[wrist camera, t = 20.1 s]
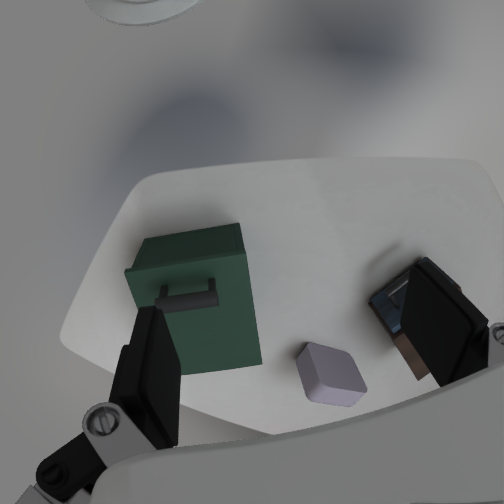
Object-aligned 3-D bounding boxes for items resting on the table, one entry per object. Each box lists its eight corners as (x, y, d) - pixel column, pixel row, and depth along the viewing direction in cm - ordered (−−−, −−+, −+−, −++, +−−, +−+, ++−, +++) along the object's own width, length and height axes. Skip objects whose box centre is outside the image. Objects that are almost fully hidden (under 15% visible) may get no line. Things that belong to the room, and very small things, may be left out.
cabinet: (367, 302, 49) (393, 340, 41) (427, 256, 47) (460, 286, 38) (396, 346, 55) (418, 381, 47) (446, 307, 53) (473, 337, 44)
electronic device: (291, 359, 53) (304, 404, 44) (305, 340, 51) (321, 385, 42) (335, 370, 56) (352, 411, 47) (350, 353, 54) (369, 393, 45)
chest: (144, 238, 40) (129, 271, 33) (239, 222, 41) (245, 253, 33) (172, 330, 47) (167, 372, 39) (253, 319, 48) (261, 359, 40)
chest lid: (125, 268, 31) (115, 294, 27) (245, 249, 32) (250, 274, 28) (167, 372, 39) (165, 399, 35) (261, 359, 40) (266, 387, 36)
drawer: (359, 282, 46) (380, 313, 39) (416, 237, 44) (445, 261, 37) (397, 341, 53) (415, 370, 46) (444, 305, 51) (466, 329, 44)
